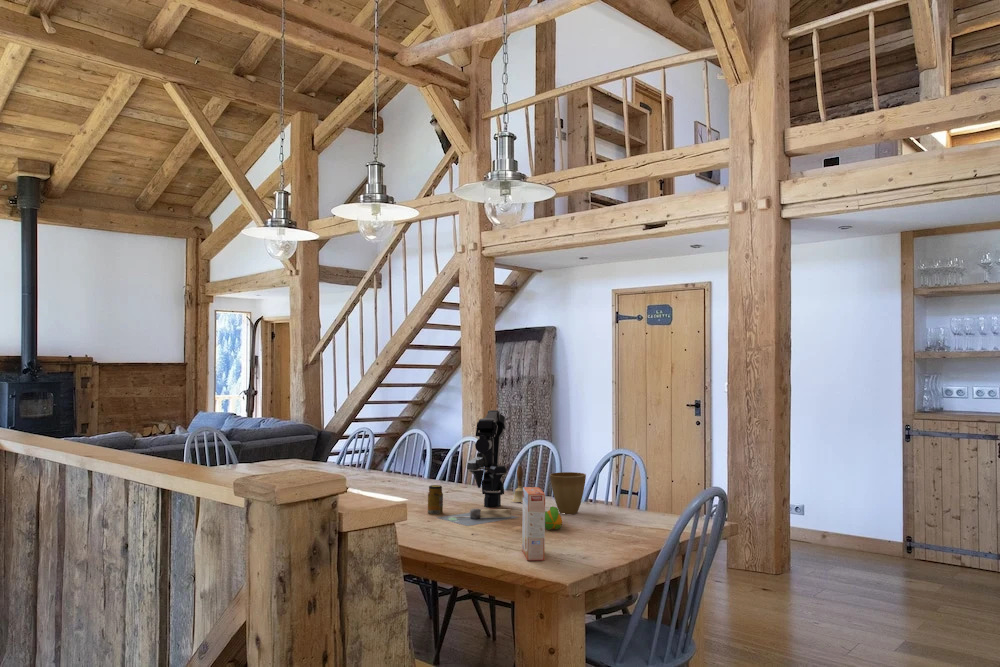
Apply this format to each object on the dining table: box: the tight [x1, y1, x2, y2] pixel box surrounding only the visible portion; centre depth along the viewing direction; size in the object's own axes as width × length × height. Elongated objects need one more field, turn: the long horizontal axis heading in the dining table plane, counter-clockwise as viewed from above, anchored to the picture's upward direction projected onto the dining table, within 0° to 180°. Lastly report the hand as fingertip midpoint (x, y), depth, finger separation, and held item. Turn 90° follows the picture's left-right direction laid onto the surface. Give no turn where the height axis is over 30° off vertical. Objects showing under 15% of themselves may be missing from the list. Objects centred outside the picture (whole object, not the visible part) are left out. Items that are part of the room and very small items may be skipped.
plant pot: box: [549, 471, 587, 515], centre depth 313 cm, size 15×15×16 cm
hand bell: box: [510, 465, 524, 502], centre depth 339 cm, size 8×8×16 cm
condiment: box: [427, 484, 444, 516], centre depth 306 cm, size 7×8×12 cm
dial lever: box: [450, 508, 512, 519], centre depth 296 cm, size 24×4×3 cm, turn 98°
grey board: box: [436, 512, 520, 527], centre depth 298 cm, size 26×20×1 cm
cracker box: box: [521, 486, 546, 562], centre depth 243 cm, size 14×6×21 cm, turn 5°
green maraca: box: [545, 506, 563, 531], centre depth 286 cm, size 7×8×20 cm
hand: (486, 489), depth 306 cm, fingers open, 9 cm apart
